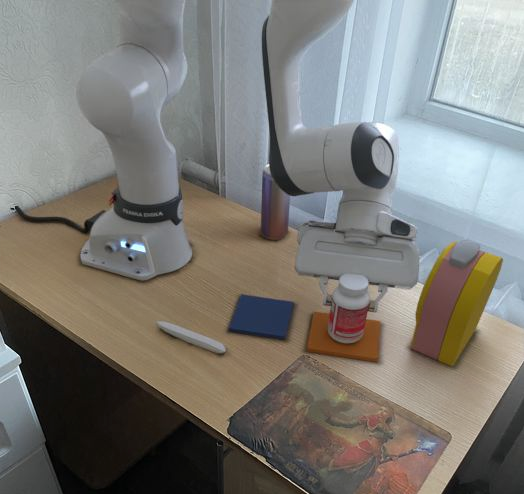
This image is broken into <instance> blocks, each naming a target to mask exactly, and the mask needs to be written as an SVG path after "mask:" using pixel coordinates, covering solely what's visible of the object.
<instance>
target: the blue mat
mask: <svg viewBox="0 0 524 494" xmlns="http://www.w3.org/2000/svg"><path fill="white" fill-rule="evenodd" d="M294 305H295V301H291V300H283V299H277V298H269V297H263V296H256V295H249V294H240V297H239V300H238V301H237V305H236V308H235V310H234V314H233V316H232V319H231V321H230V324H229V325H228V326H229V327H228V332H231V333H238V334H242V335H243V334H244V335H250V336H255V337H256V336H257V337H264V338H269V339H276V340H282V341H283V340H286V337H287V334H288V329H289V325H290V321H291V317H292V312H293V309H294Z"/></svg>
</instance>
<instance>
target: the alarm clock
mask: <svg viewBox="0 0 524 494" xmlns="http://www.w3.org/2000/svg"><path fill="white" fill-rule="evenodd" d="M503 262H504V259H503V258H502V257H501V256H498V255H495V254H493V253H489V252H487V251H486V252H485V251H483V250H481V245H480V243H477V242H474V241H471V240H468V239H463V240H460V241H452V242H450V244H448V245H447V246H446V247H445V248H443V250H442V252H441V253H440V254H439V256H438V257H437V259H436V260H435V262H434V264H433V266H432V268H431V270H430V272H429V274H428V276H427V279H426V280H425V282H424V284H423V287H422V290H421V292H420V295H419V299H418V301H417V304H416V309H415V327H414V330H413V336H412V340H411V344H410V349H411V350H413V351H416V352H418V353H421V354H422V355H425V356H427V357H429V358H432V359H434V360H435V361H438V362H441V363H443V364H445V365H448V366H449V367H453V366H454V365H455V363H456V362H457V360H458V358H459V357H460V355H461V354H462V352H463V350H464V349H465V347H466V346H467V344H468V343H469V341H470V340H471V338H472V336H473V335H474V334H475V332H476V330H477V328H478V325H479V323H480V320H481V318H482V315H483V313H484V311H485V308H486V306H487V303H488V302H489V299H490V297H491V294H492V292H493V289H494V287H495V285H496V282H497V280H498V277H499V275H500V272H501V269H502V266H503Z"/></svg>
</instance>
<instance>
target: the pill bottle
mask: <svg viewBox="0 0 524 494" xmlns="http://www.w3.org/2000/svg"><path fill="white" fill-rule="evenodd" d="M368 290H369V282H368V279H367V278H366V277H364V276H363V275H355V274H344V275H342V276H341V277H340V279H339V280H338V284H337V286H336V287H335V288H334V290H333V291H332V294H331V295H332V303H331V306H330V309H329V310H330V311H329V314H330V316H329V324H328V333H329V335H330V336H331V337H332V338H333V339H334V340H336V341H338V342H341V343H354V342H357V341H358V340H360V339H361V338H362V336H363V333H364V328H365V323H366V319H368V318H367V317H368V307H369V303H370V300H371V295H370V293H369V291H368Z"/></svg>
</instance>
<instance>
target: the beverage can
mask: <svg viewBox="0 0 524 494" xmlns="http://www.w3.org/2000/svg"><path fill="white" fill-rule="evenodd" d="M261 175H262V177H261V178H262V179H261V204H260V205H261V207H260V233H261V235H262V236H263V237H264V238H265V239H268V240H271V241H279V240H282V239H284V238H285V237H286V236H287V235H288V233H289V221H290V219H289V218H290V205H291V196H290V195H288V194H286V193H285V192H284V191H283V190H281V189H280V188H279V187H278V185H277V184H276V183H275V182H274V180H273V178H272V176H271V173H270V168H269V163H268V164H265V165H264V166H263V170H262V173H261Z"/></svg>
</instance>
